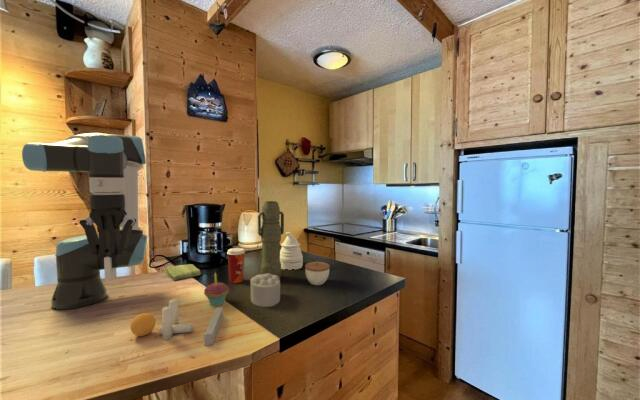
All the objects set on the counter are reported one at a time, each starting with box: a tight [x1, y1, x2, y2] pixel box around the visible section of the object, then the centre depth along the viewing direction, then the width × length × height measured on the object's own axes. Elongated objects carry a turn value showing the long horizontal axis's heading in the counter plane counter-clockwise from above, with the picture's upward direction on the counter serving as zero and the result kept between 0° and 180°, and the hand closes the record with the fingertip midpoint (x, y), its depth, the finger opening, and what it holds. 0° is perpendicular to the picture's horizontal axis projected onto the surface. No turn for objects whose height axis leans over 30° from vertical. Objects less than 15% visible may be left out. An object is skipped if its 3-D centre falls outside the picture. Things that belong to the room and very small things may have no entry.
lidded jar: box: [304, 260, 331, 286], centre depth 121 cm, size 11×11×9 cm
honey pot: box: [280, 231, 304, 271], centre depth 144 cm, size 13×13×18 cm
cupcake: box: [203, 271, 230, 306], centre depth 99 cm, size 9×8×12 cm
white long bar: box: [203, 306, 224, 346], centre depth 81 cm, size 2×16×3 cm, turn 10°
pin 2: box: [168, 298, 179, 325], centre depth 82 cm, size 2×2×8 cm
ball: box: [130, 312, 157, 337], centre depth 78 cm, size 6×6×6 cm
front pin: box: [158, 322, 194, 335], centre depth 80 cm, size 2×2×8 cm
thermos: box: [257, 200, 285, 281], centre depth 124 cm, size 9×12×35 cm
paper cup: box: [226, 247, 246, 284], centre depth 122 cm, size 8×8×14 cm
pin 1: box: [161, 305, 173, 341], centre depth 77 cm, size 2×2×8 cm
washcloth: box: [164, 263, 202, 281], centre depth 131 cm, size 13×18×3 cm
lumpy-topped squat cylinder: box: [250, 273, 281, 308], centre depth 103 cm, size 10×13×9 cm
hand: (110, 279), depth 76 cm, fingers closed
